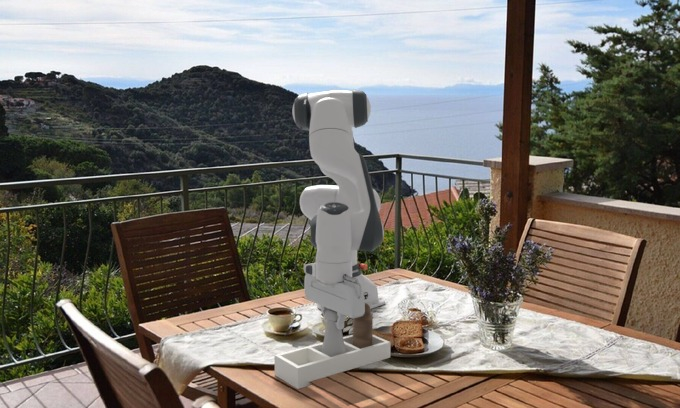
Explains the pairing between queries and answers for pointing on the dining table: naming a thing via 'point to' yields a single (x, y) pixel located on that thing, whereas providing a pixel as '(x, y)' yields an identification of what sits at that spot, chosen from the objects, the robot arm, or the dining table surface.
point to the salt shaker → (332, 336)
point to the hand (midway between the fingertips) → (333, 326)
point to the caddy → (326, 361)
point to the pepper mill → (363, 329)
